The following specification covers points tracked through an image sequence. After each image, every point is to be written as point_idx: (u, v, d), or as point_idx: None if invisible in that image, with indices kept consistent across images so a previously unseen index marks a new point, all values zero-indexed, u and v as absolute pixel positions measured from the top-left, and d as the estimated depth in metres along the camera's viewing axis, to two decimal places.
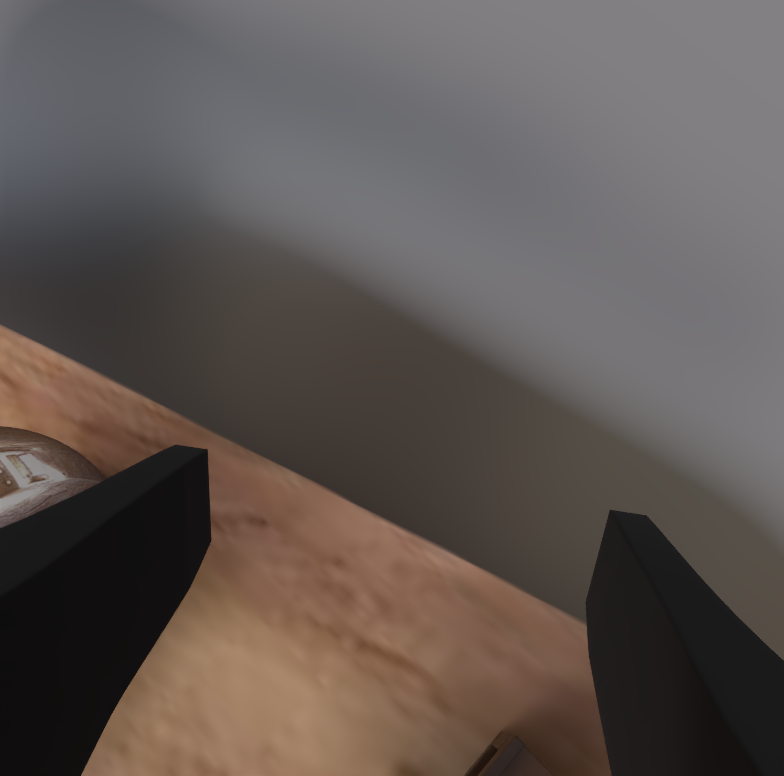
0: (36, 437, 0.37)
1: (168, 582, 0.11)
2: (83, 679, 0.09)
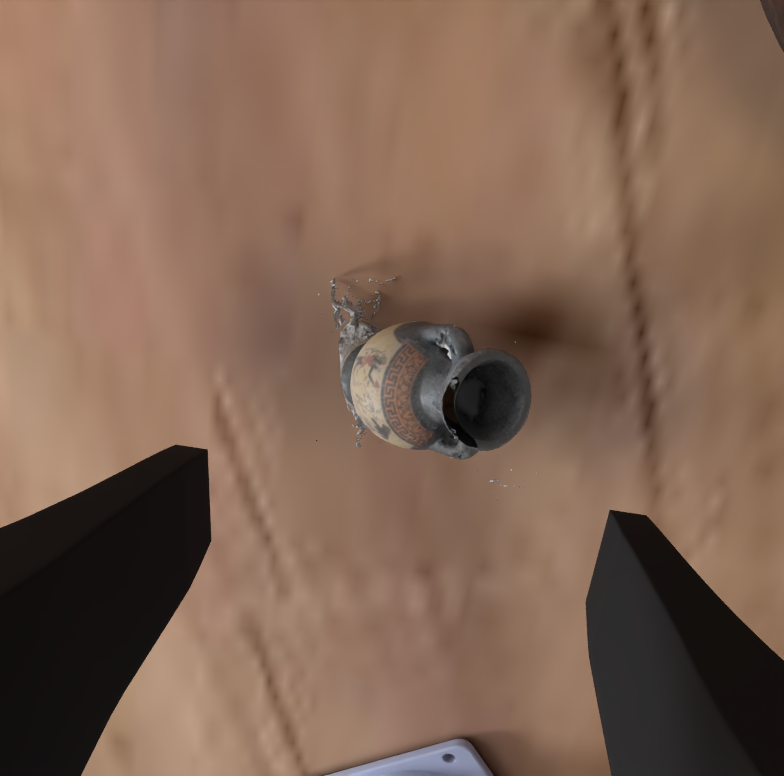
0: None
1: (168, 582, 0.11)
2: (83, 679, 0.09)
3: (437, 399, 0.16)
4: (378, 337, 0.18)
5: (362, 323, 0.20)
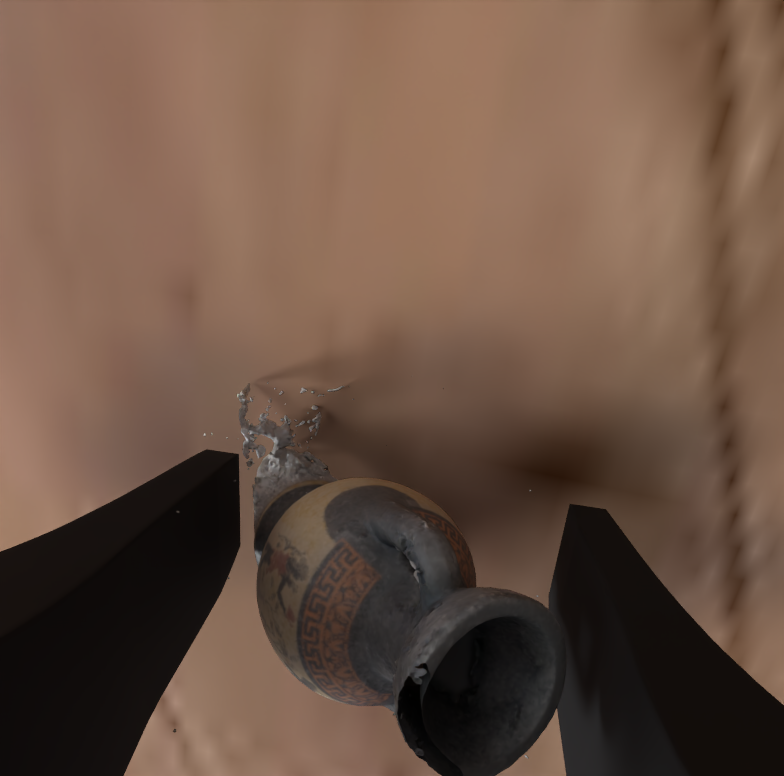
0: None
1: (201, 588, 0.11)
2: (123, 687, 0.09)
3: (394, 663, 0.09)
4: (300, 516, 0.10)
5: (291, 455, 0.13)
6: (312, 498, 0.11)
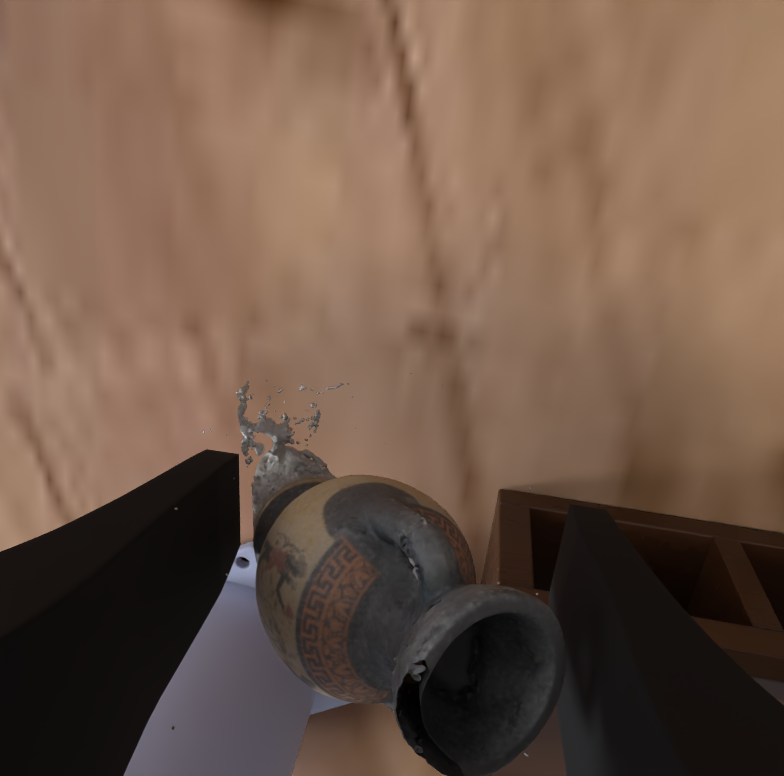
0: None
1: (201, 588, 0.11)
2: (123, 686, 0.09)
3: (393, 661, 0.09)
4: (298, 513, 0.10)
5: (290, 452, 0.13)
6: (311, 495, 0.11)
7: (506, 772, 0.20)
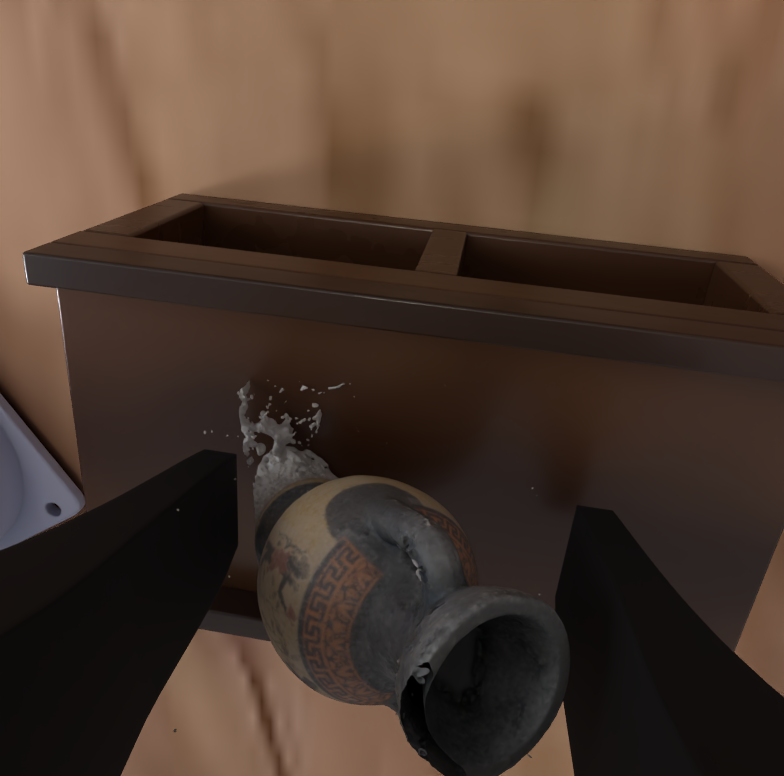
0: None
1: (199, 587, 0.11)
2: (120, 686, 0.09)
3: (395, 662, 0.09)
4: (301, 514, 0.10)
5: (292, 452, 0.13)
6: (313, 496, 0.11)
7: None
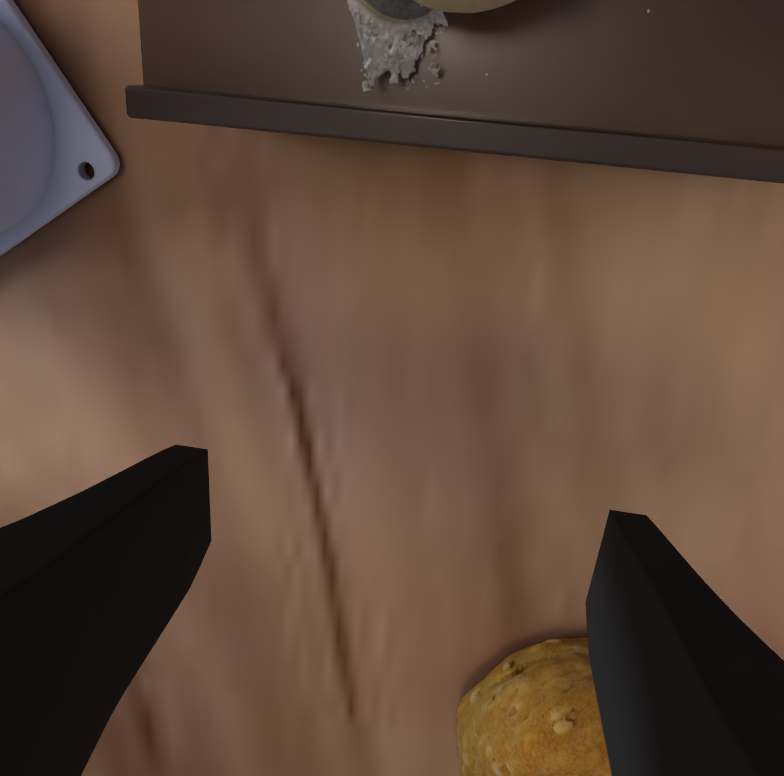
0: None
1: (168, 582, 0.11)
2: (83, 679, 0.09)
3: None
4: None
5: None
6: None
7: (195, 13, 0.14)
